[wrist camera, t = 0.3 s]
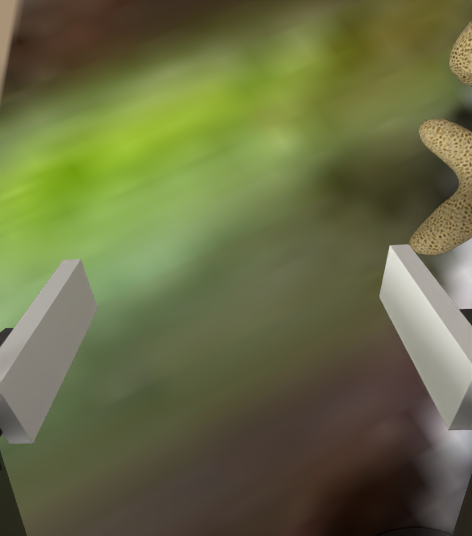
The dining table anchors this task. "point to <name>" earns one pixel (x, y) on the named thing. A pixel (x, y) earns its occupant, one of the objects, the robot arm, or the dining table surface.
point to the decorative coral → (458, 159)
